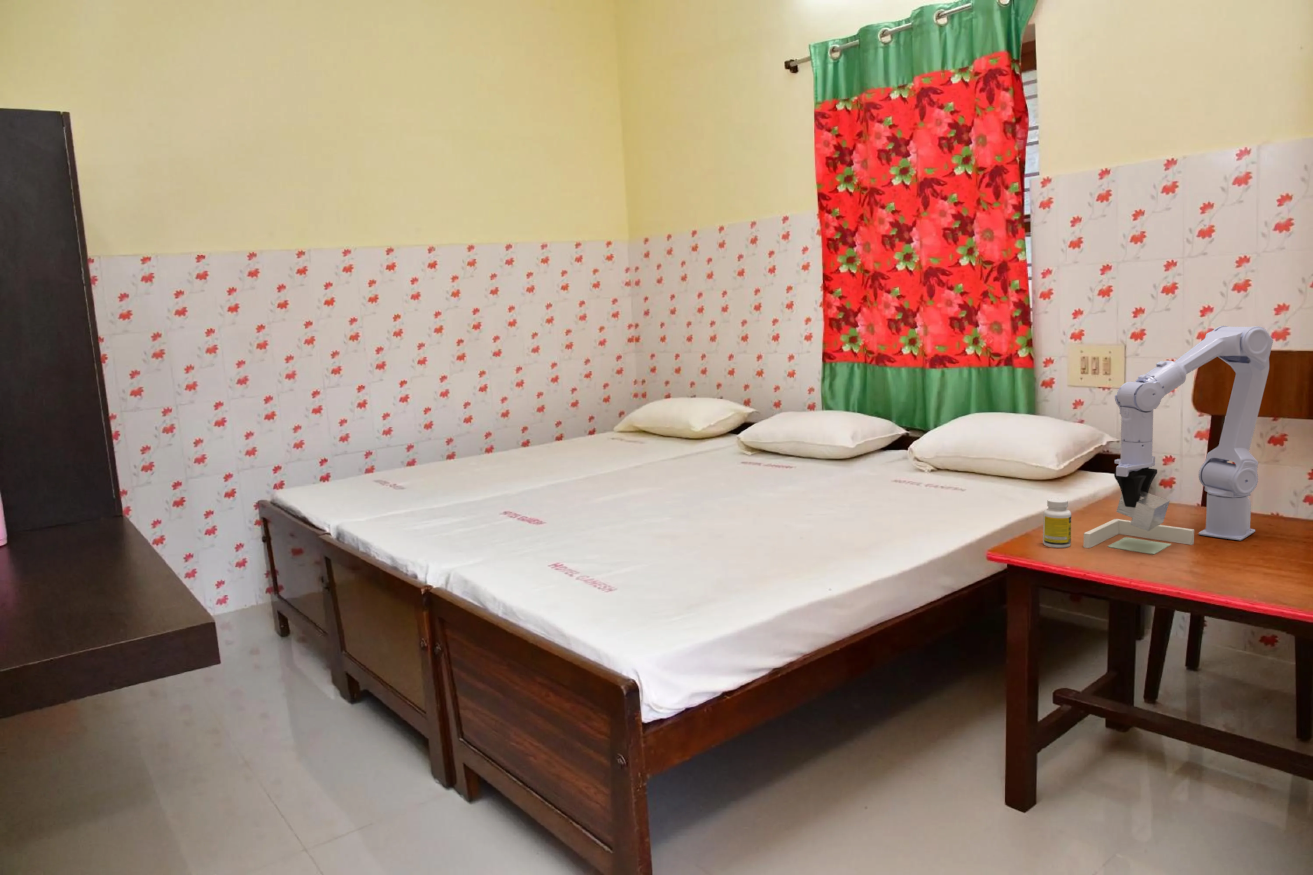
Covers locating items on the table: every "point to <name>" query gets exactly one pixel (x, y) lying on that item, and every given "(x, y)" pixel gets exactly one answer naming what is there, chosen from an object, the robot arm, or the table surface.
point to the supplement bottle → (1057, 524)
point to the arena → (1137, 533)
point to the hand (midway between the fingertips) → (1135, 504)
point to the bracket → (1145, 511)
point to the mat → (1139, 545)
